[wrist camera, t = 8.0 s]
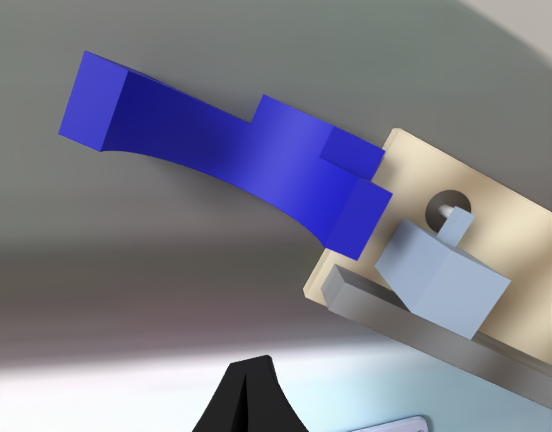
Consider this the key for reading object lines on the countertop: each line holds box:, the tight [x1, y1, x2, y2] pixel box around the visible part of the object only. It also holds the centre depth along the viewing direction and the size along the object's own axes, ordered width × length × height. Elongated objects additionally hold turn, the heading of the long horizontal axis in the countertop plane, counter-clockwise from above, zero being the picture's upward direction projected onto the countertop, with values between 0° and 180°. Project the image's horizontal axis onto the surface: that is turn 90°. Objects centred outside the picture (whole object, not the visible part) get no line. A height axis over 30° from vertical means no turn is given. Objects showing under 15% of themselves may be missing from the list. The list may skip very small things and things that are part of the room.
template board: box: [303, 128, 552, 409], centre depth 20 cm, size 22×10×6 cm, turn 63°
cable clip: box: [58, 51, 393, 261], centre depth 17 cm, size 12×4×6 cm, turn 65°
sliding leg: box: [374, 204, 511, 340], centre depth 18 cm, size 3×5×5 cm, turn 153°
